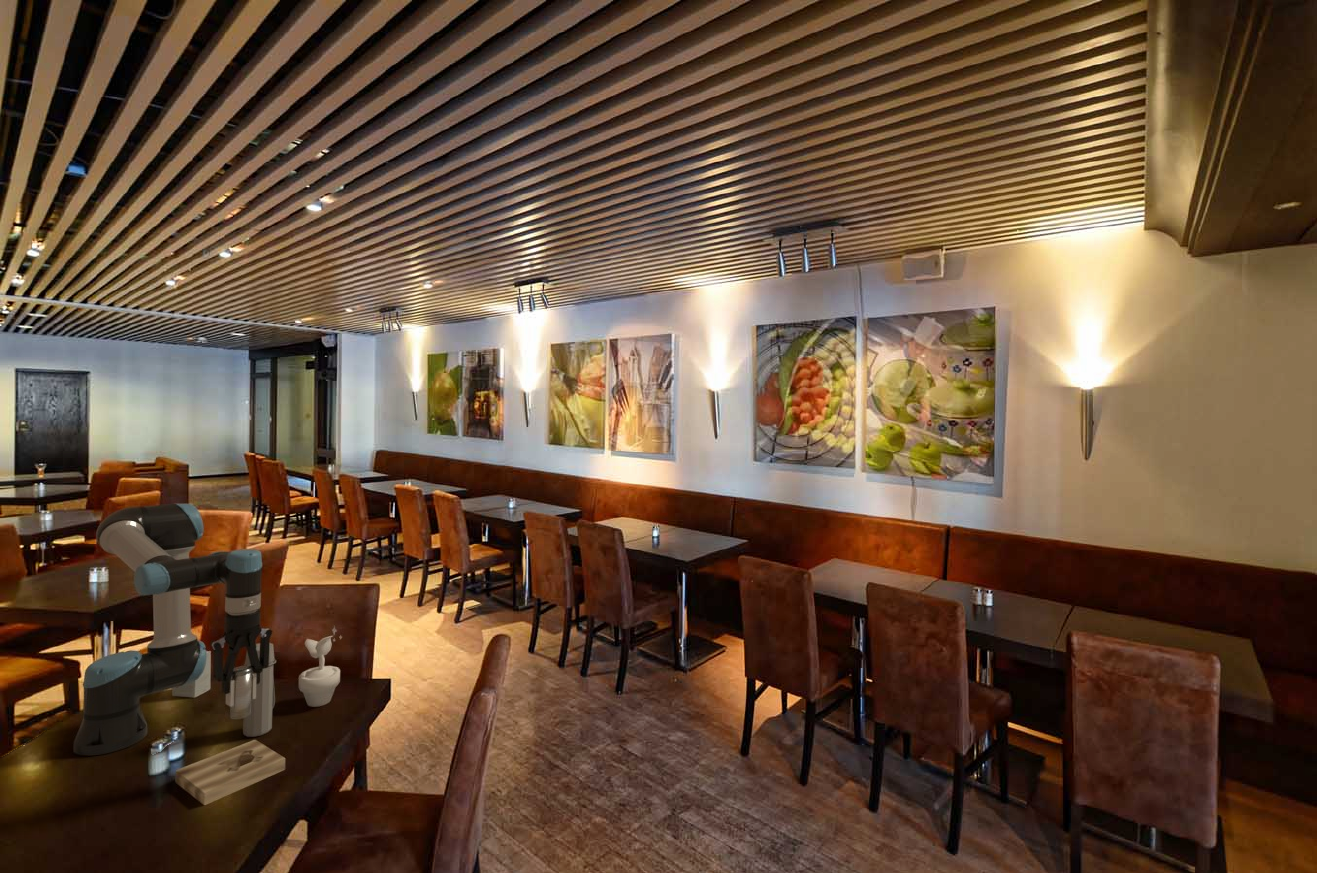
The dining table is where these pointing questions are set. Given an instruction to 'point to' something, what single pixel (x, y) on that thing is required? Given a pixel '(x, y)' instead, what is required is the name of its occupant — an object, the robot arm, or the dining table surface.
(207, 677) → the small box
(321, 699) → the potted plant
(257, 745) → the jig
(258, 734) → the water bottle
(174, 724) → the dining table surface
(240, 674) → the grey metallic cylinder
